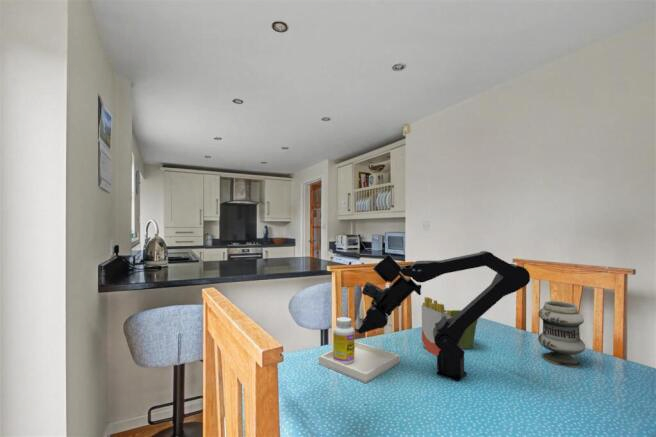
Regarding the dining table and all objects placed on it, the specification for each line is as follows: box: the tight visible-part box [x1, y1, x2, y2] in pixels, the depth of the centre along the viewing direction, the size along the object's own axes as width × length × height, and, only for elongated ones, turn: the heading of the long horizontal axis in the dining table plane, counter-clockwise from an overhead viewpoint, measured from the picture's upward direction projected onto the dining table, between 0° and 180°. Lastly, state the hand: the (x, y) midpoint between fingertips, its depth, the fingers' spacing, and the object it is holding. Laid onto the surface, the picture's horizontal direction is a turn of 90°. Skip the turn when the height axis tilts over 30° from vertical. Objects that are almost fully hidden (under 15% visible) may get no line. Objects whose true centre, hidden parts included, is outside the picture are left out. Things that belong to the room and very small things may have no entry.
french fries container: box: [421, 296, 451, 357], centre depth 107 cm, size 5×11×18 cm, turn 17°
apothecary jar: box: [537, 300, 586, 368], centre depth 101 cm, size 12×12×18 cm
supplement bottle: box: [332, 316, 356, 364], centre depth 98 cm, size 7×7×13 cm
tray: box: [318, 340, 401, 384], centre depth 98 cm, size 18×18×2 cm
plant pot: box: [446, 309, 479, 350], centre depth 113 cm, size 12×12×11 cm
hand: (360, 327), depth 97 cm, fingers open, 9 cm apart
